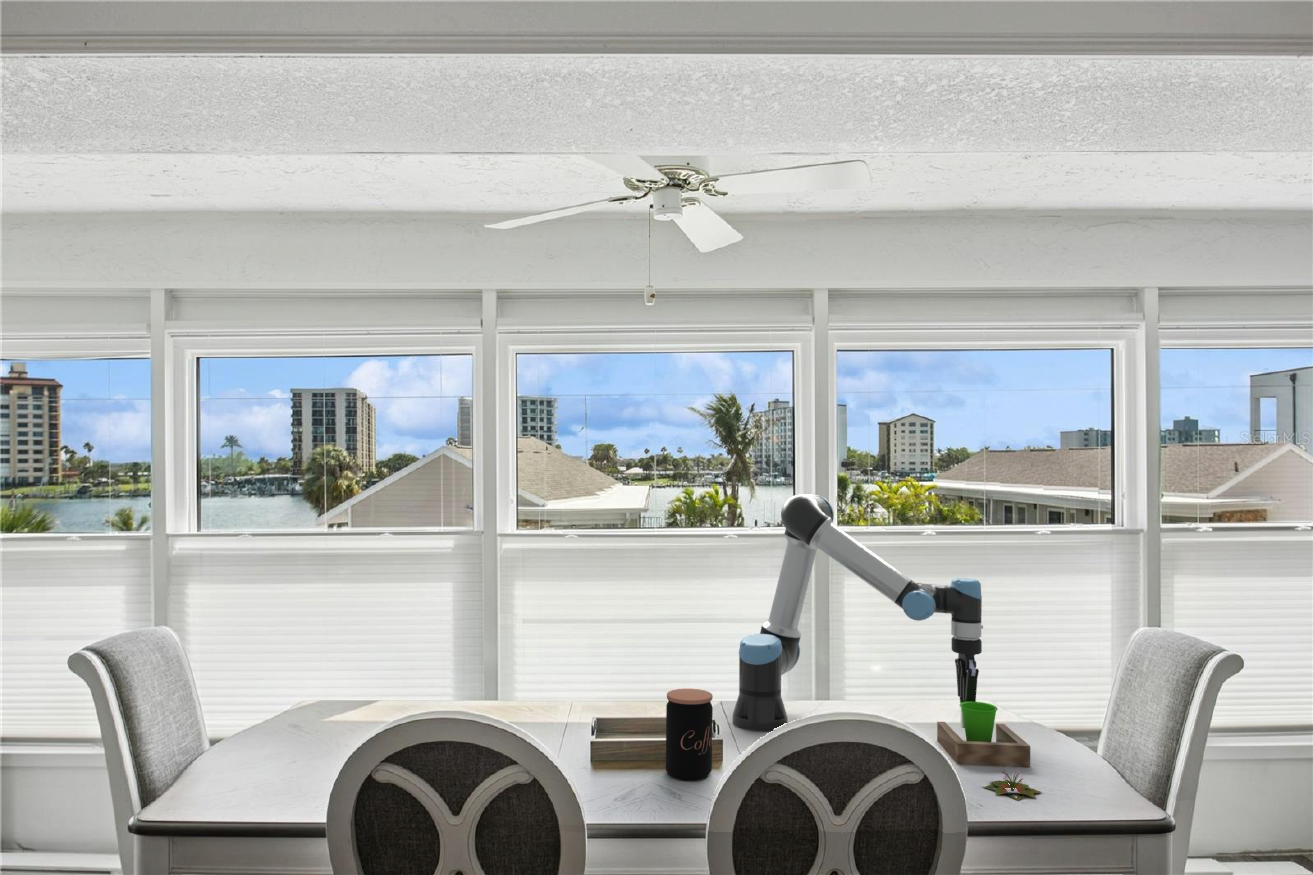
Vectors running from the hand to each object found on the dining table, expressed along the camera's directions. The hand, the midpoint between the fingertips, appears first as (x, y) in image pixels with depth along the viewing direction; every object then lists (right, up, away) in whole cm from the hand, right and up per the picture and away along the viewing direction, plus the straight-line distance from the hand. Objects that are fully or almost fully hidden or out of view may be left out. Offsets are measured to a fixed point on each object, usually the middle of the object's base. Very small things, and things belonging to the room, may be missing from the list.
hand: (966, 727), depth 220 cm
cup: (-1, -3, -10) cm, 10 cm away
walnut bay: (-1, -2, -13) cm, 13 cm away
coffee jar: (-75, -1, -29) cm, 80 cm away
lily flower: (-4, -2, -37) cm, 37 cm away
